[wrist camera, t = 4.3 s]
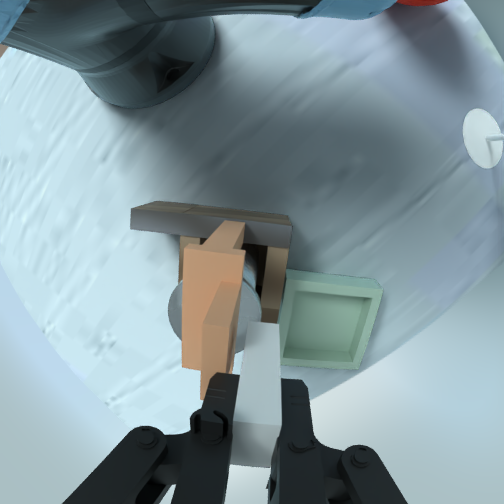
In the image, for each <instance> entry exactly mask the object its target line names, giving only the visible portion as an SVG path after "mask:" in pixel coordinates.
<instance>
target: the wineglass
mask: <svg viewBox="0 0 504 504" xmlns="http://www.w3.org/2000/svg"><path fill="white" fill-rule="evenodd" d="M463 138H464V144H465V146H466V149H467V151H468V154H469V155H470V157H471V158H472V160H473V161H474V162H475V163H476V164H477V165H478V166H480V167H482V168H485V169H488V168H493V167H494V166H496V165H497V164H498V162H499V160H500V159H501V155H502V152H503V140H504V134H501V131H500V129H499V126H498V124H497V123H496V121H495V119H494V118H493V117H492V116H491V115H490V114H489V113H488V112H487V111H485V110H483V109H473V110H471V111H469V113H468V114H467V115H466V116H465V120H464V123H463Z"/></svg>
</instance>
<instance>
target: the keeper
mask: <svg viewBox="0 0 504 504" xmlns="http://www.w3.org/2000/svg"><path fill="white" fill-rule="evenodd" d="M244 230H245V222H237V221H228V220H225V221H224V222H223V223H222V224H221V225H220V226H219V227H218V228H217V229H216V230H215V231H214V233H213V234H212V235H211V236H210V237H209V238H208V239H207V240H206V241H205V242H204V243H203V245H198V244H190V243H189V244H188V245H187V246H186V247H185V248H184V259H183V286H182V367H183V368H189V369H194V370H200V371H201V386H200V400H204V398H205V394H206V391H207V387H208V384H209V380H210V378H211V377H212V376H213V375H214V374H215V373H216V372H221V373H228V374H232V370H233V365H234V355H235V346H236V336H237V327H238V317H239V308H240V299H241V290H242V280H243V271H244V262H245V253H246V250H240V249H241V247H242V244H243V239H244Z"/></svg>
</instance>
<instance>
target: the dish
mask: <svg viewBox="0 0 504 504" xmlns="http://www.w3.org/2000/svg"><path fill="white" fill-rule="evenodd" d="M383 290H384V289H383V288H382V287H381V286H380V285H379V284H378V283H377V281H376V280H375V279H368V278H359V277H350V276H342V275H333V274H325V273H316V272H308V271H300V270H292V269H286V272H285V279H284V285H283V291H282V297H281V303H280V309H279V315H278V321H277V324H279V338H280V365H288V366H300V367H314V368H331V369H357V370H358V369H359V366H360V364H361V361H362V358H363V355H364V352H365V349H366V347H367V344H368V341H369V338H370V334H371V331H372V328H373V325H374V322H375V318H376V315H377V312H378V308H379V305H380V301H381V298H382V294H383Z"/></svg>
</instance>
